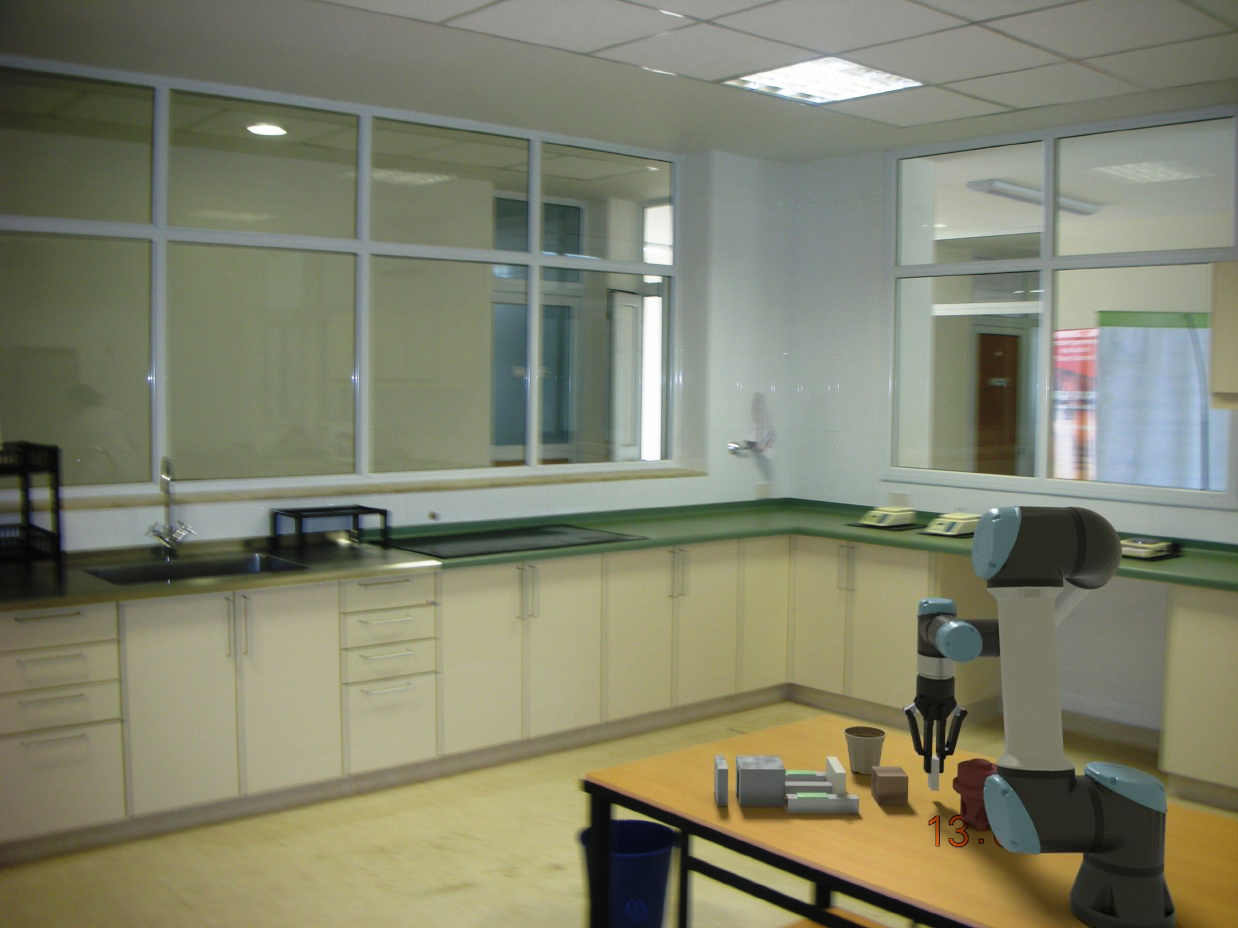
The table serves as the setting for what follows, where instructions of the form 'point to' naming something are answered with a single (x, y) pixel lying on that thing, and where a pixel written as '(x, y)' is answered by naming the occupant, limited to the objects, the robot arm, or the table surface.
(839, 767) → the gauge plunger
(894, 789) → the walnut block
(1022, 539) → the robot arm
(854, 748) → the flower pot
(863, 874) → the table surface
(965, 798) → the mechanical component
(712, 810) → the table surface
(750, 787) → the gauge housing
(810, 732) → the table surface
